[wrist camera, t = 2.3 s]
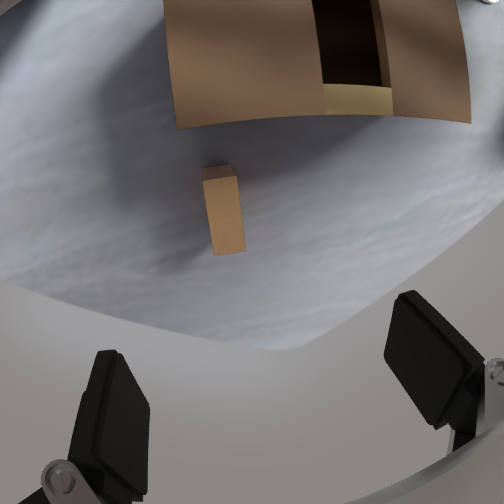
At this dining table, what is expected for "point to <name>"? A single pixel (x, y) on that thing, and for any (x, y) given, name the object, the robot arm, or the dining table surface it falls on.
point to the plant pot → (7, 5)
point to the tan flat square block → (223, 209)
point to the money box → (315, 59)
